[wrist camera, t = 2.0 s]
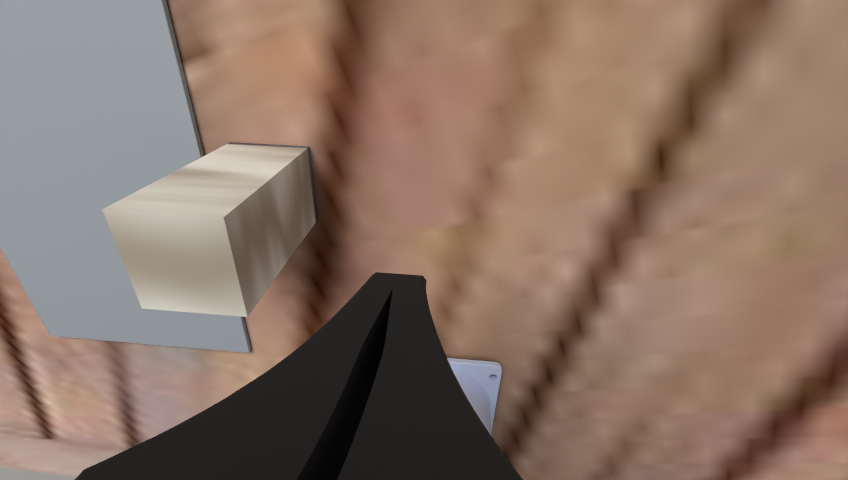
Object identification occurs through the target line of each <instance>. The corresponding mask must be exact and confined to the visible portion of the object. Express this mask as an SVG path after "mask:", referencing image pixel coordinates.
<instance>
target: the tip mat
mask: <svg viewBox="0 0 848 480" xmlns="http://www.w3.org/2000/svg"><path fill="white" fill-rule="evenodd" d="M203 156H204V153H203V149H202V145H201V141H200V137H199V133H198V129H197V124H196V120H195V116H194V112H193V108H192V104H191V100H190V96H189V92H188V88H187V84H186V79H185V75H184V71H183V67H182V63H181V59H180V55H179V51H178V47H177V43H176V39H175V34H174V30H173V26H172V22H171V18H170V14H169V10H168V6H167V2H166V0H0V248H1V250H2V252H3V254H4V255H5V257H6V259H7V261H8V262H9V264H10V266H11V268H12V269H13V271H14V273H15V275H16V276H17V278H18V280H19V282H20V284H21V285H22V287H23V289H24V291H25V292H26V294H27V296H28V298H29V299H30V301H31V303H32V305H33V307H34V308H35V310H36V312H37V314H38V315H39V317H40V319H41V321H42V322H43V324H44V326H45V328H46V330H47V331H48V333H49V335H50V336H59V337H70V338H82V339H94V340H105V341H117V342H129V343H140V344H152V345H164V346H175V347H187V348H198V349H210V350H222V351H233V352H245V353H250V351H251V346H250V341H249V337H248V333H247V329H246V325H245V321H244V317H241V316H229V315H216V314H204V313H192V312H179V311H167V310H154V309H142V308H141V305H140V303H139V300H138V298H137V295H136V293H135V290H134V288H133V285H132V283H131V280H130V278H129V275H128V273H127V270H126V268H125V265H124V263H123V260H122V258H121V255H120V253H119V250H118V248H117V245H116V243H115V240H114V238H113V235H112V233H111V230H110V228H109V225H108V223H107V220H106V218H105V215H104V213H103V210H102V209H104V208H106V207H108V206H110V205H112V204H113V203H115V202H117V201H119V200H121V199H123V198H125V197H127V196H129V195H131V194H133V193H134V192H136V191H138V190H140V189H142V188H144V187H146V186H148V185H150V184H152V183H154V182H155V181H157V180H159V179H161V178H163V177H165V176H167V175H169V174H171V173H173V172H175V171H176V170H178V169H180V168H182V167H184V166H186V165H188V164H190V163H192V162H194V161H196V160H198V159H199V158H201V157H203Z"/></svg>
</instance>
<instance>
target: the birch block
mask: <svg viewBox="0 0 848 480" xmlns="http://www.w3.org/2000/svg"><path fill="white" fill-rule="evenodd" d="M102 210H103V213H104V215H105V218H106V220H107V223H108V225H109V228H110V230H111V233H112V235H113V238H114V240H115V243H116V245H117V248H118V250H119V253H120V255H121V258H122V260H123V263H124V265H125V268H126V270H127V273H128V275H129V278H130V280H131V283H132V285H133V288H134V290H135V293H136V295H137V298H138V300H139V303H140V305H141V308H142V309H154V310H167V311H179V312H192V313H204V314H216V315H229V316H241V317H248V315H249V314H250V313H251V311H252V310H253V308H254V307H255V306H256V304H257V303H258V302H259V300H260V299H261V297H262V296H263V295H264V293H265V292H266V291H267V289H268V288H269V286H270V285H271V284H272V282H273V281H274V280H275V278H276V277H277V275H278V274H279V273H280V271H281V270H282V268H283V267H284V266H285V264H286V263H287V262H288V260H289V259H290V257H291V256H292V255H293V253H294V252H295V251H296V249H297V248H298V246H299V245H300V244H301V242H302V241H303V239H304V238H305V237H306V235H307V234H308V233H309V231H310V230H311V228H312V227H313V226H314V224H315V223H316V222H317V211H316V202H315V193H314V184H313V175H312V166H311V157H310V148H309V147H306V146H287V145H269V144H251V143H232V142H230V143H228V144H226V145H224V146H222V147H220V148H219V149H217V150H215V151H213V152H211V153H209V154H207V155H205V156H203V157H201V158H199V159H198V160H196V161H194V162H192V163H190V164H188V165H186V166H184V167H182V168H180V169H178V170H176V171H175V172H173V173H171V174H169V175H167V176H165V177H163V178H161V179H159V180H157V181H155V182H154V183H152V184H150V185H148V186H146V187H144V188H142V189H140V190H138V191H136V192H134V193H133V194H131V195H129V196H127V197H125V198H123V199H121V200H119V201H117V202H115V203H113V204H112V205H110V206H108V207H106V208H104V209H102Z"/></svg>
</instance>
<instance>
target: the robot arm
mask: <svg viewBox="0 0 848 480" xmlns="http://www.w3.org/2000/svg"><path fill="white" fill-rule="evenodd" d="M493 374H494V375H493ZM492 375H493V376H492ZM501 375H502V367H501V365H500V364H499V363H497V362H491V361H479V360H467V359H455V358H447V357H446V355H445V353H444V350H443V348H442V345H441V343H440V340H439V338H438V335H437V332H436V329H435V326H434V323H433V320H432V317H431V313H430V309H429V305H428V300H427V295H426V279H425V278H424V277H423V276H419V275H405V274H391V273H377V272H376V273H375V274H373V275H372V276H371V277H370V278H369V279H368V281H367V282H366V283H365V284H364V285H363V286H362V287H361V288H360V290H359V291H358V292H357V293H356V294H355V295H354V296H353V297H352V298H351V299H350V300H349V301H348V302H347V303H346V304H345V305H344V306H343V307H342V308H341V309H340V310H339V311H338V312H337V313H336V314H335V315H334V316H333V317H332V318H331V319H330V320H329V321H328V322H327V323H326V324H325V325H324V326H323V327H322V328H321V329H319V330H318V331H317V332H316V333H315V334H314V335H313V336H312V337H310V338H309V339H308V340H307V341H306V342H305V343H304V344H302V345H301V346H300V347H299V348H297V349H296V350H295V351H294V352H292V353H291V354H290V355H289V356H287V357H286V358H285V359H283V360H282V361H281V362H279V363H278V364H277V365H275V366H274V367H273V368H271V369H270V370H269V371H267V372H266V373H264V374H263V375H261V376H260V377H258V378H256V379H255V380H253V381H252V382H250V383H249V384H247V385H246V386H244V387H242V388H241V389H239V390H238V391H236V392H235V393H233V394H232V395H230V396H228V397H227V398H225V399H223V400H222V401H220V402H218V403H217V404H215V405H213V406H211V407H210V408H208V409H206V410H204V411H203V412H201V413H199V414H197V415H195V416H193V417H192V418H190V419H188V420H186V421H184V422H182V423H180V424H179V425H177V426H175V427H173V428H171V429H169V430H167V431H165V432H163V433H161V434H159V435H157V436H155V437H153V438H151V439H149V440H147V441H145V442H143V443H140V444H138V445H136V446H134V447H132V448H130V449H128V450H126V451H123V452H121V453H119V454H117V455H115V456H113V457H111V458H109V459H107V460H104V461H102V462H100V463H98V464H96V465H93V466H91V467H89V468H87V469H84V470H83V471H82V472H81V474H80V475H79V476H78V477H77V478H76V479H75V480H523V479H522V478H521V477H520V475H519V474H518V473H517V471H516V470H515V469H514V467H513V466H512V465H511V463H510V462H509V461H508V459H507V458H506V456H505V455H504V454H503V452H502V451H501V450H500V448H499V447H498V446H497V444H496V443H495V441H494V439H493V438H492V425H493V420H494V414H495V408H496V403H497V397H498V392H499V386H500V380H501Z"/></svg>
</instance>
